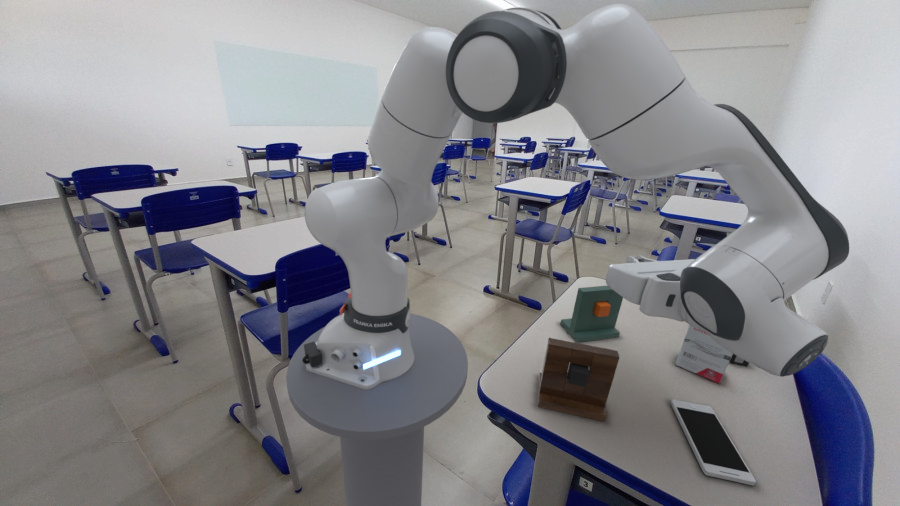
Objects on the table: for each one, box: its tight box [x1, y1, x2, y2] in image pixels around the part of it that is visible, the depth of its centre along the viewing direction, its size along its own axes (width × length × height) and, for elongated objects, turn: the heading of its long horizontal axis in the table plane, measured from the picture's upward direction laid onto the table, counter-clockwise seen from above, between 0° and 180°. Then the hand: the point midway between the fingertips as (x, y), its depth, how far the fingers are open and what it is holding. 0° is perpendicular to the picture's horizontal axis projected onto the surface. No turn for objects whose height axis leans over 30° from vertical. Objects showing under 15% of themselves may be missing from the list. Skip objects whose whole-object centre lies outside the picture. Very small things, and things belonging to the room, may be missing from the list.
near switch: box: [568, 363, 589, 387], centre depth 64 cm, size 3×3×3 cm
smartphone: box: [670, 398, 757, 486], centre depth 62 cm, size 7×15×1 cm, turn 168°
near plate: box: [537, 337, 620, 423], centre depth 67 cm, size 8×12×13 cm, turn 76°
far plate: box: [560, 285, 624, 343], centre depth 89 cm, size 8×12×13 cm, turn 105°
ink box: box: [675, 324, 733, 385], centre depth 77 cm, size 9×5×12 cm, turn 46°
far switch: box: [593, 301, 611, 317], centre depth 87 cm, size 3×3×3 cm
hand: (632, 259), depth 69 cm, fingers closed
